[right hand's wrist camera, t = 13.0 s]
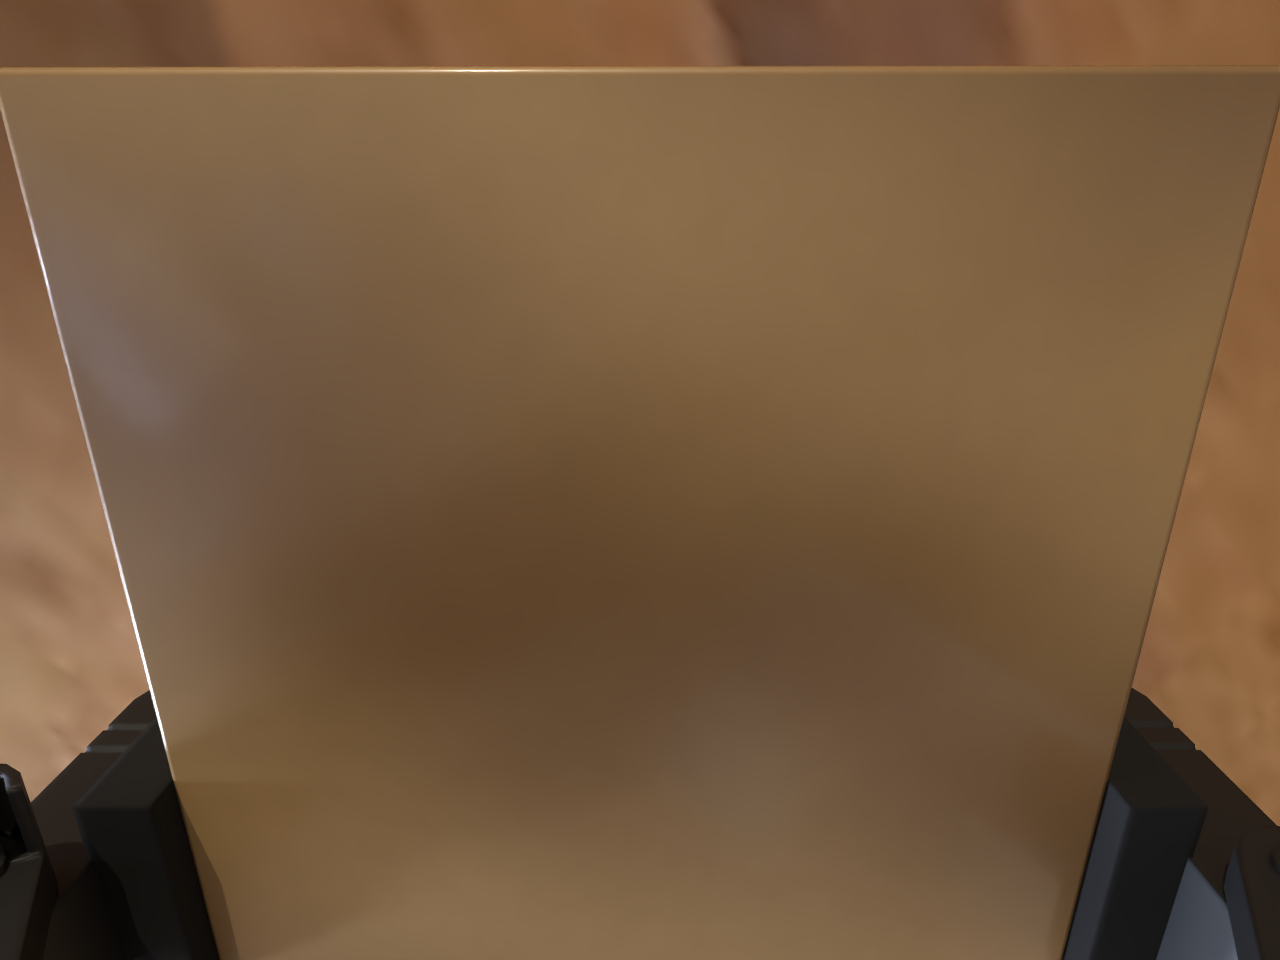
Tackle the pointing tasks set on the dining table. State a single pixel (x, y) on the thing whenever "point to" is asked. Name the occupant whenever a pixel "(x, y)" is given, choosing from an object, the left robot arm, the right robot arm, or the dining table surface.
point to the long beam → (640, 481)
